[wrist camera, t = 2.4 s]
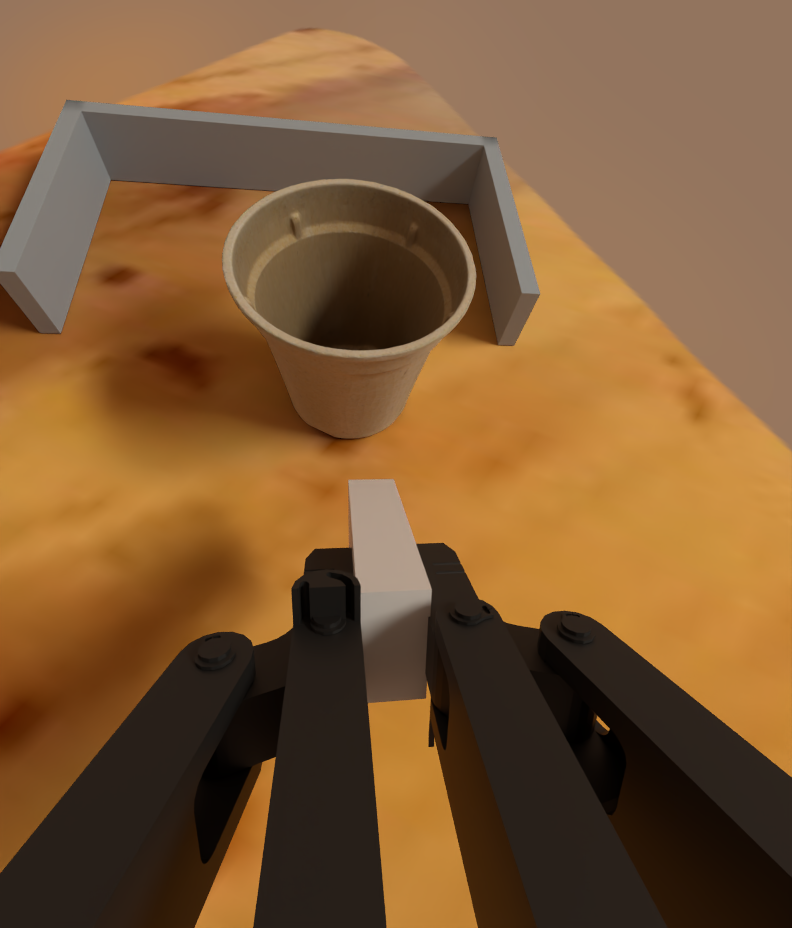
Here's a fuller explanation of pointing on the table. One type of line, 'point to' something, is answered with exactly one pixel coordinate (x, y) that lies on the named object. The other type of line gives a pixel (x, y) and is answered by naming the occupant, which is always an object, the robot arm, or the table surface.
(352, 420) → the flower pot
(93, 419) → the table surface
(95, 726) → the table surface
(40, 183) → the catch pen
